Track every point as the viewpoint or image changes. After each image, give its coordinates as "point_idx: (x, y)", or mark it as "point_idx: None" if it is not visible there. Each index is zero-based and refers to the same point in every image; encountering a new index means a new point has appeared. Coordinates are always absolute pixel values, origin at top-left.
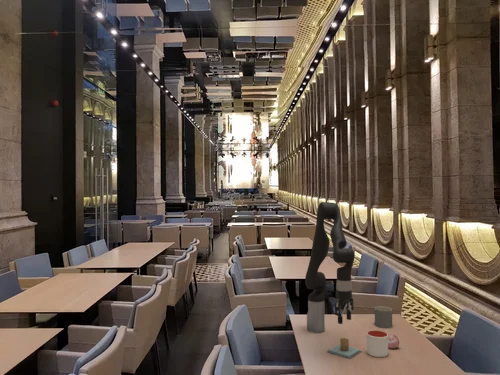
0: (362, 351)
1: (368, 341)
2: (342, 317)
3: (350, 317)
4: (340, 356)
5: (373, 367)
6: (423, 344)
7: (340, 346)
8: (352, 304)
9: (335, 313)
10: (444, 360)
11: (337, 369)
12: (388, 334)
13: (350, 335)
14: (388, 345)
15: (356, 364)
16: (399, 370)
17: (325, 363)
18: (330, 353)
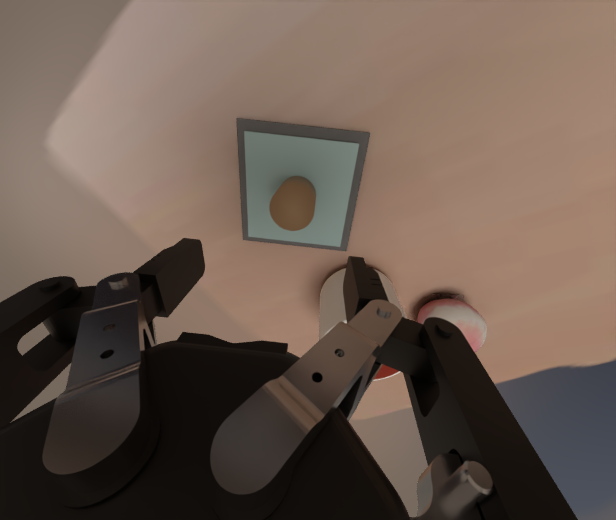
0: (344, 250)
1: (328, 308)
2: (172, 309)
3: (345, 301)
4: (241, 200)
5: (247, 308)
6: (507, 368)
7: (282, 183)
8: (431, 450)
9: (25, 299)
10: (398, 406)
11: (146, 233)
12: (469, 339)
13: (568, 112)
14: (418, 320)
15: (229, 266)
16: None
17: (146, 174)
18: (238, 146)
